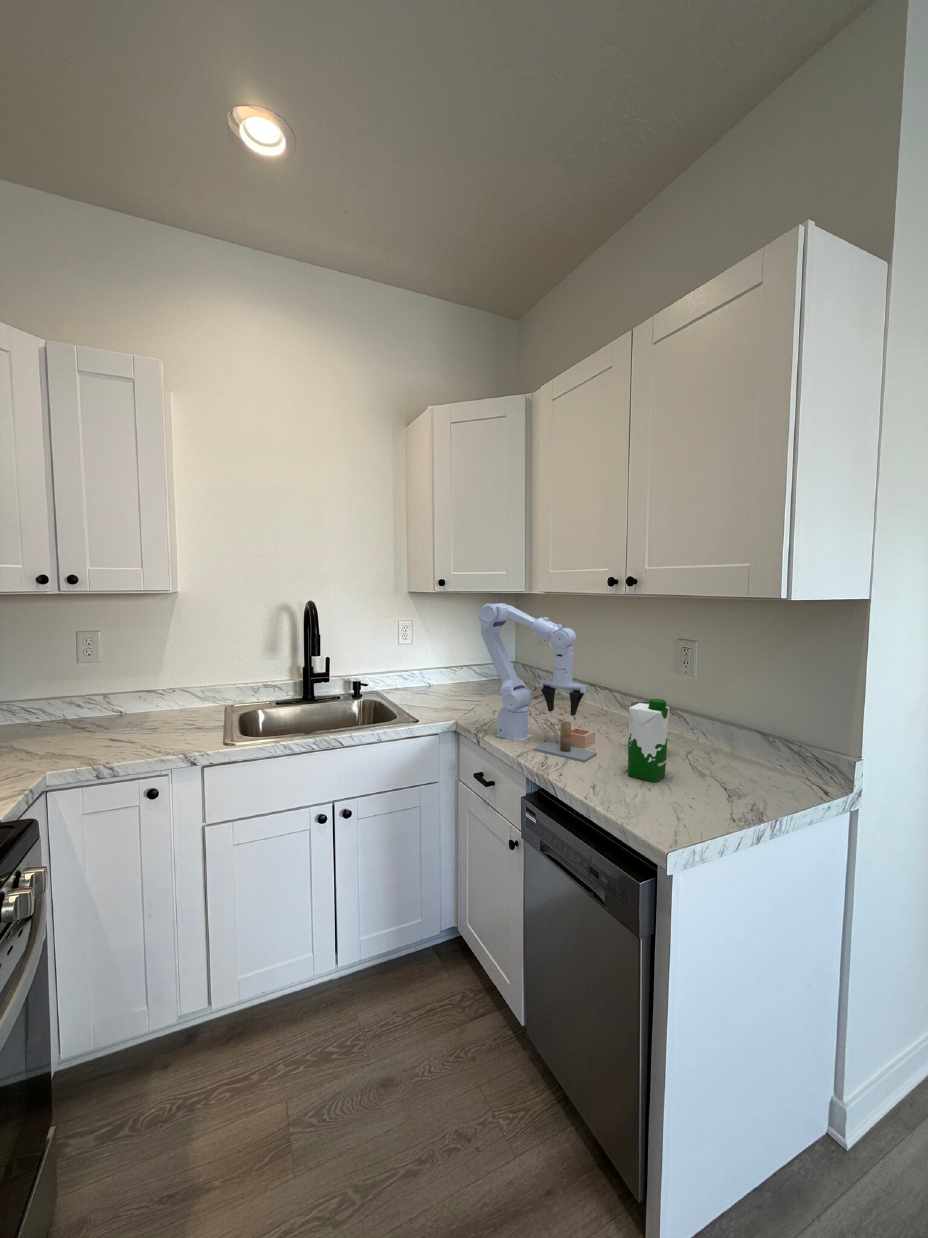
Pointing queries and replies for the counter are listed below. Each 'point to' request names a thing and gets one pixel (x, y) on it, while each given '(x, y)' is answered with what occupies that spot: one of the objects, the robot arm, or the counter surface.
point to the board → (573, 754)
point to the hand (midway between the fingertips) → (561, 712)
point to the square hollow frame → (582, 737)
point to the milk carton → (648, 740)
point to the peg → (565, 737)
